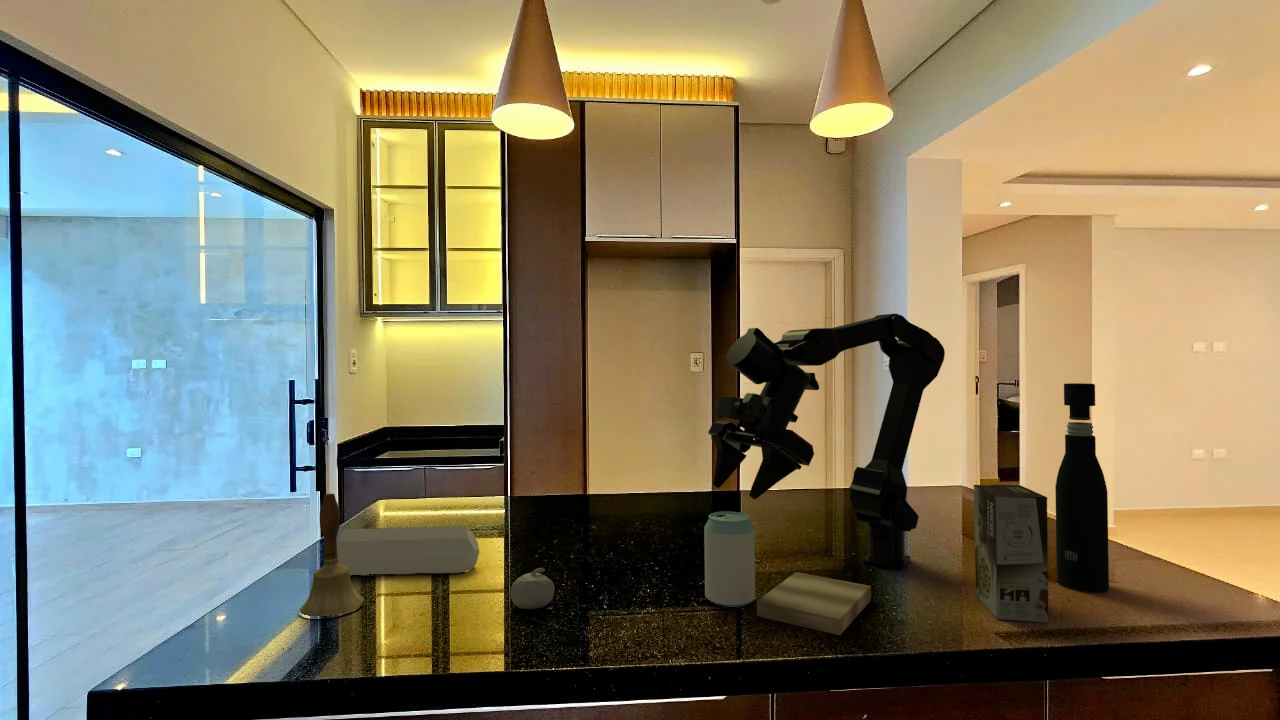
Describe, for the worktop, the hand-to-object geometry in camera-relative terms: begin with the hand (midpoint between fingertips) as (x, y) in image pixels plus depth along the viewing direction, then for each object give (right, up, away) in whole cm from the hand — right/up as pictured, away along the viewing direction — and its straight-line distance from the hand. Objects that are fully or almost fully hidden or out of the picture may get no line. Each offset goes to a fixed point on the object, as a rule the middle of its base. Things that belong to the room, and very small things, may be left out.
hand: (733, 492), depth 93 cm
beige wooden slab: (+10, -15, -6) cm, 19 cm away
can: (-1, -15, -3) cm, 15 cm away
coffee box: (+37, -15, -7) cm, 40 cm away
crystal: (-52, -16, +12) cm, 56 cm away
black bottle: (+52, -14, +2) cm, 54 cm away
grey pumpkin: (-29, -15, -4) cm, 33 cm away
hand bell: (-57, -16, -4) cm, 59 cm away
